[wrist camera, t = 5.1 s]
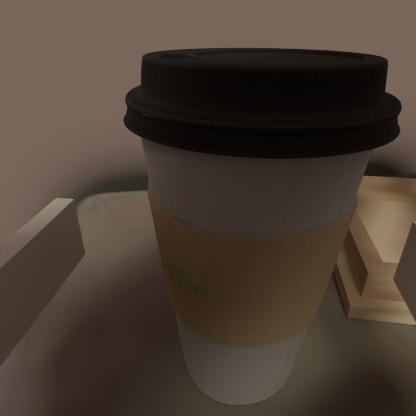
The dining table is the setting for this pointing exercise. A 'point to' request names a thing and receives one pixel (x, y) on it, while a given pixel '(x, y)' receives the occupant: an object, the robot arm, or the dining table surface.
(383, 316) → the wooden tray
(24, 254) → the robot arm
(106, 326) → the dining table surface
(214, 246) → the coffee cup
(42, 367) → the dining table surface
